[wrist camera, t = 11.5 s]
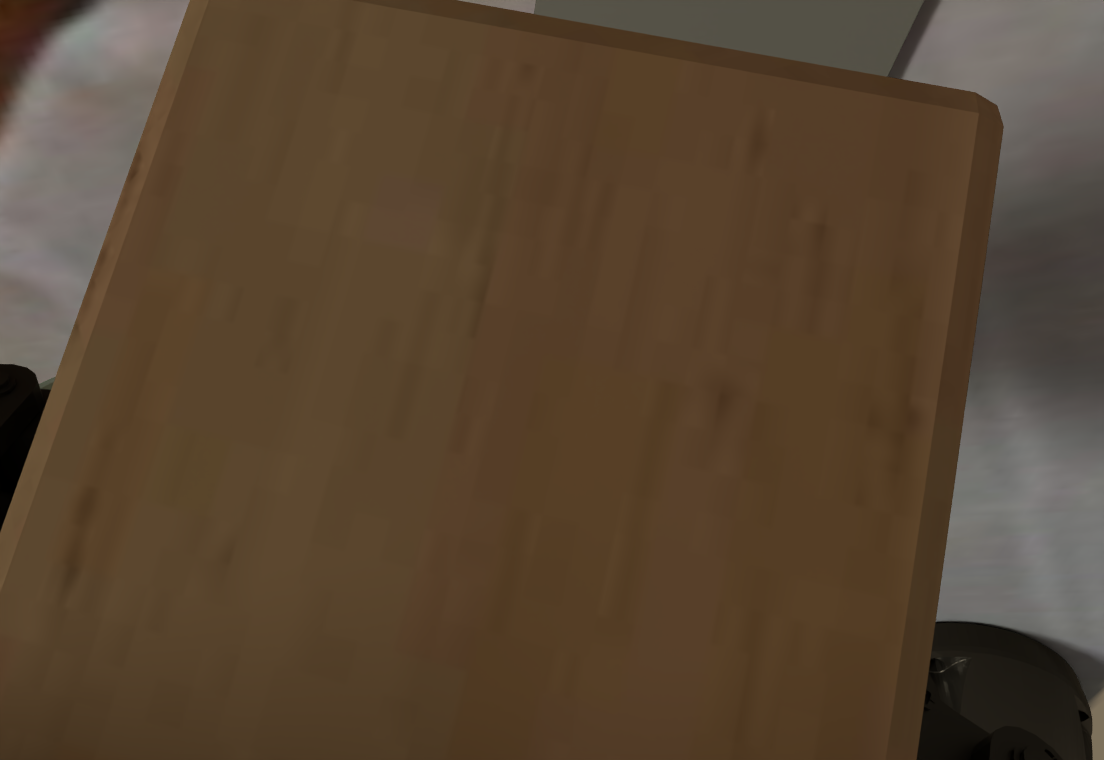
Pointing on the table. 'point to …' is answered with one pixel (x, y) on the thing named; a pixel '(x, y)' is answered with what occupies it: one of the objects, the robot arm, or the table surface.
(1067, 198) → the table surface
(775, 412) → the wooden block
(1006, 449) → the table surface
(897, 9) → the mat
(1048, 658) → the robot arm
